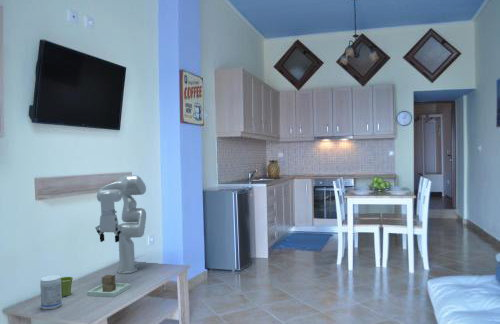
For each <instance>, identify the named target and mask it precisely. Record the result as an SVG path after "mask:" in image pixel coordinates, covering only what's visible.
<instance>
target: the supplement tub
mask: <svg viewBox="0 0 500 324" xmlns="http://www.w3.org/2000/svg"><path fill="white" fill-rule="evenodd" d="M61 278H62V277H61V275H57V274H55V275H48V276H44V277H41V278H40V283H39V285H40V286H39V287H40V308H42V309H43V310H54V309H58V308H60V307H61V306H62V305H63V301H62V300H63V299H62V298H63V297H62V293H61Z"/></svg>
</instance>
